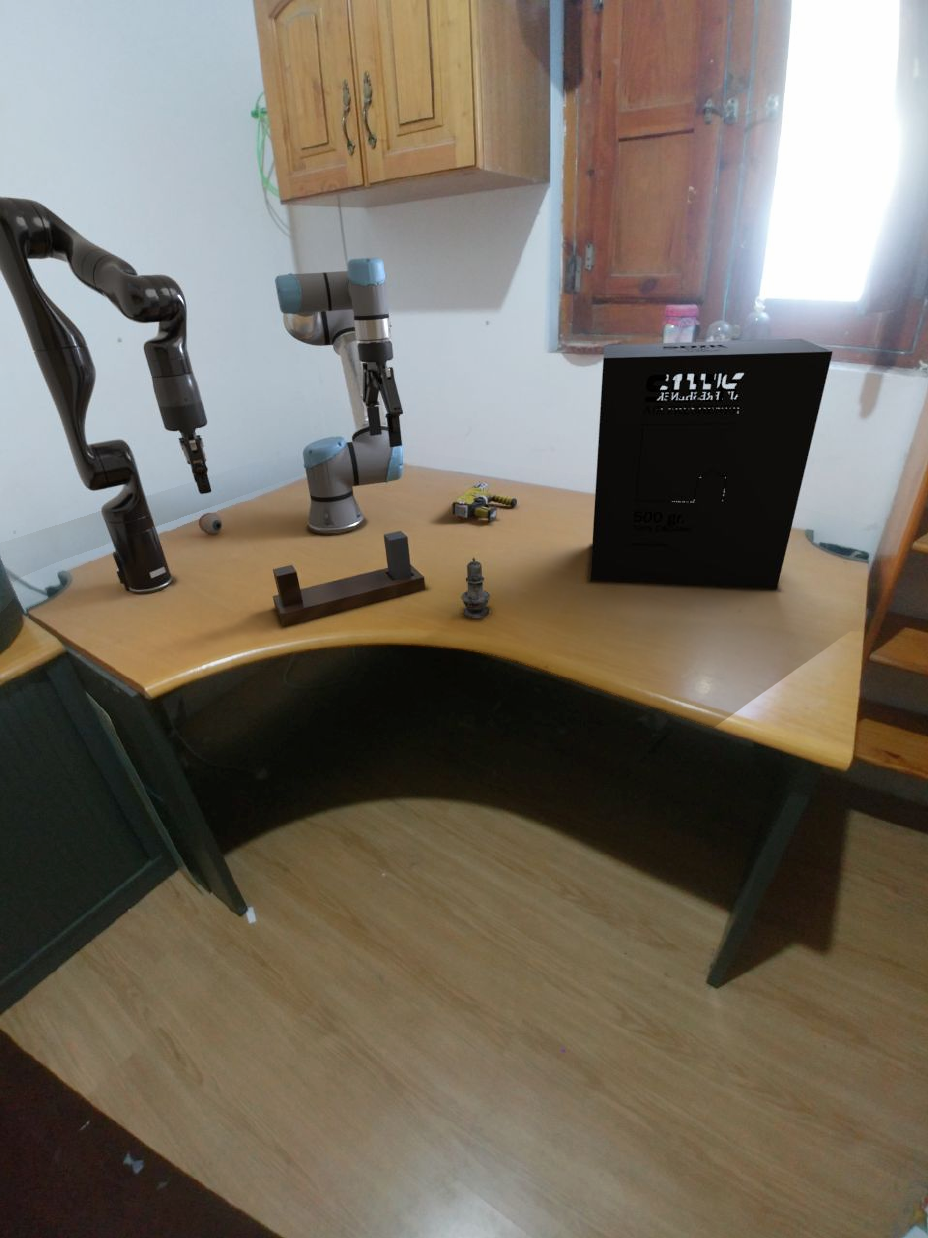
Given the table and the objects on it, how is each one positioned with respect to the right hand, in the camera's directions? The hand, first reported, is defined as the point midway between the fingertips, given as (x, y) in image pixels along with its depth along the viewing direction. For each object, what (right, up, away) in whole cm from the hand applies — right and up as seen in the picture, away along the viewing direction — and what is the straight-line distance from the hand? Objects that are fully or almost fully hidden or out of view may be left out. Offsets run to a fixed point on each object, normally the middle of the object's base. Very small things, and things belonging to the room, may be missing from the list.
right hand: (385, 440), depth 141 cm
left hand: (-33, -16, -23) cm, 43 cm away
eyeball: (-51, -18, +27) cm, 61 cm away
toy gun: (+26, -10, +34) cm, 44 cm away
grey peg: (+4, -34, -6) cm, 35 cm away
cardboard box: (+66, -30, -5) cm, 73 cm away
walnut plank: (-6, -38, -11) cm, 40 cm away
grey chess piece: (+21, -41, -19) cm, 49 cm away
